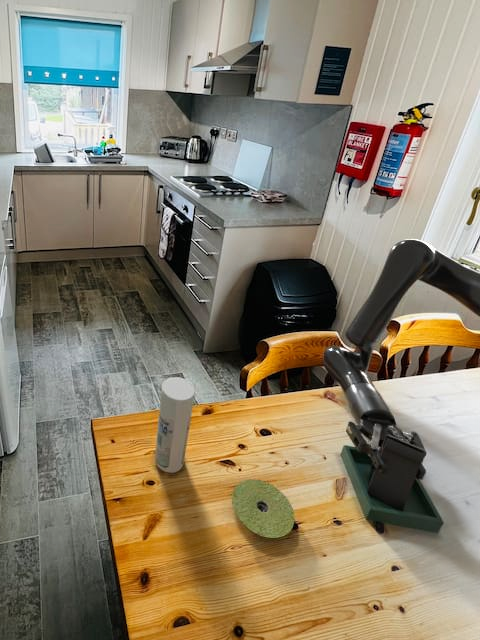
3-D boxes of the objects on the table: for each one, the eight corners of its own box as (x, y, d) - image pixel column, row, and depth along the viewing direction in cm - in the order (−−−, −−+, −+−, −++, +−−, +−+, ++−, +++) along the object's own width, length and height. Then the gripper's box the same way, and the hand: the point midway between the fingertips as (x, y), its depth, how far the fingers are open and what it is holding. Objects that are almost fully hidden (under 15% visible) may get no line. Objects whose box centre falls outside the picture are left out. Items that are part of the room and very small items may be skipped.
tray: (401, 464, 86) (405, 455, 85) (438, 533, 73) (444, 522, 72) (340, 454, 88) (343, 444, 87) (365, 519, 75) (370, 509, 74)
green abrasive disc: (281, 558, 68) (284, 551, 67) (221, 517, 74) (222, 510, 73) (299, 508, 76) (301, 501, 76) (243, 475, 83) (244, 468, 82)
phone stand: (371, 462, 85) (388, 421, 80) (404, 478, 82) (424, 436, 77) (366, 494, 79) (385, 451, 74) (402, 512, 75) (424, 469, 71)
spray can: (149, 450, 87) (157, 379, 79) (177, 444, 89) (186, 374, 81) (160, 476, 81) (169, 403, 73) (189, 469, 83) (200, 397, 75)
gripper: (339, 390, 90) (368, 453, 75) (408, 400, 88) (452, 466, 73) (330, 415, 93) (357, 479, 78) (397, 425, 91) (437, 493, 76)
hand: (402, 473), depth 75 cm, fingers closed on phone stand, 6 cm apart
